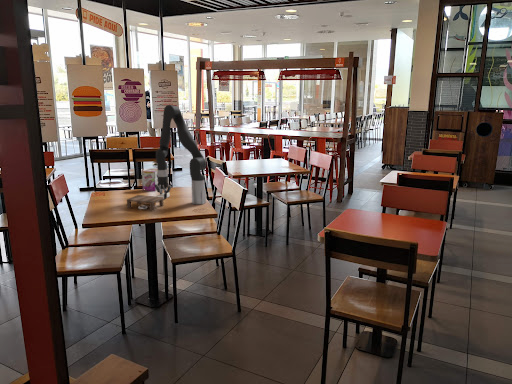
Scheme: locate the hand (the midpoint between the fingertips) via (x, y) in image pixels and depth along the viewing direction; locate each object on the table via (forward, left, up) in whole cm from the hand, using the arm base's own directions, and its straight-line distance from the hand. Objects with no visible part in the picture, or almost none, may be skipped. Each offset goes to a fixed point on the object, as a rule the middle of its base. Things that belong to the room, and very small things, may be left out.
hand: (163, 197), depth 304 cm
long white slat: (0, +6, 0) cm, 6 cm away
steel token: (0, +28, -1) cm, 29 cm away
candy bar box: (+24, -21, -1) cm, 32 cm away
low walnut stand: (0, +25, -1) cm, 25 cm away
